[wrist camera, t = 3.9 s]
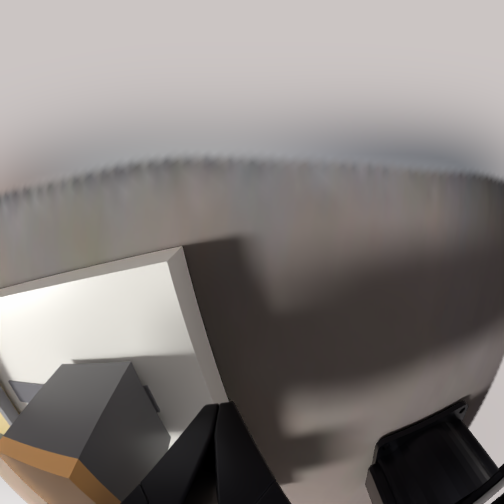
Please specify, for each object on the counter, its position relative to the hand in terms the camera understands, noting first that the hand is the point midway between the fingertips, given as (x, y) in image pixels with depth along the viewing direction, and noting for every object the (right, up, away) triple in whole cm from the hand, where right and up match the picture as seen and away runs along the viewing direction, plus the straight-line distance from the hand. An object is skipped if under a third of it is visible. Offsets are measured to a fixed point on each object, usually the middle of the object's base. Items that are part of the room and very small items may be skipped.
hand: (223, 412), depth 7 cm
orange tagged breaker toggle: (-4, -1, +1) cm, 4 cm away
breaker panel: (-10, -4, +4) cm, 11 cm away
